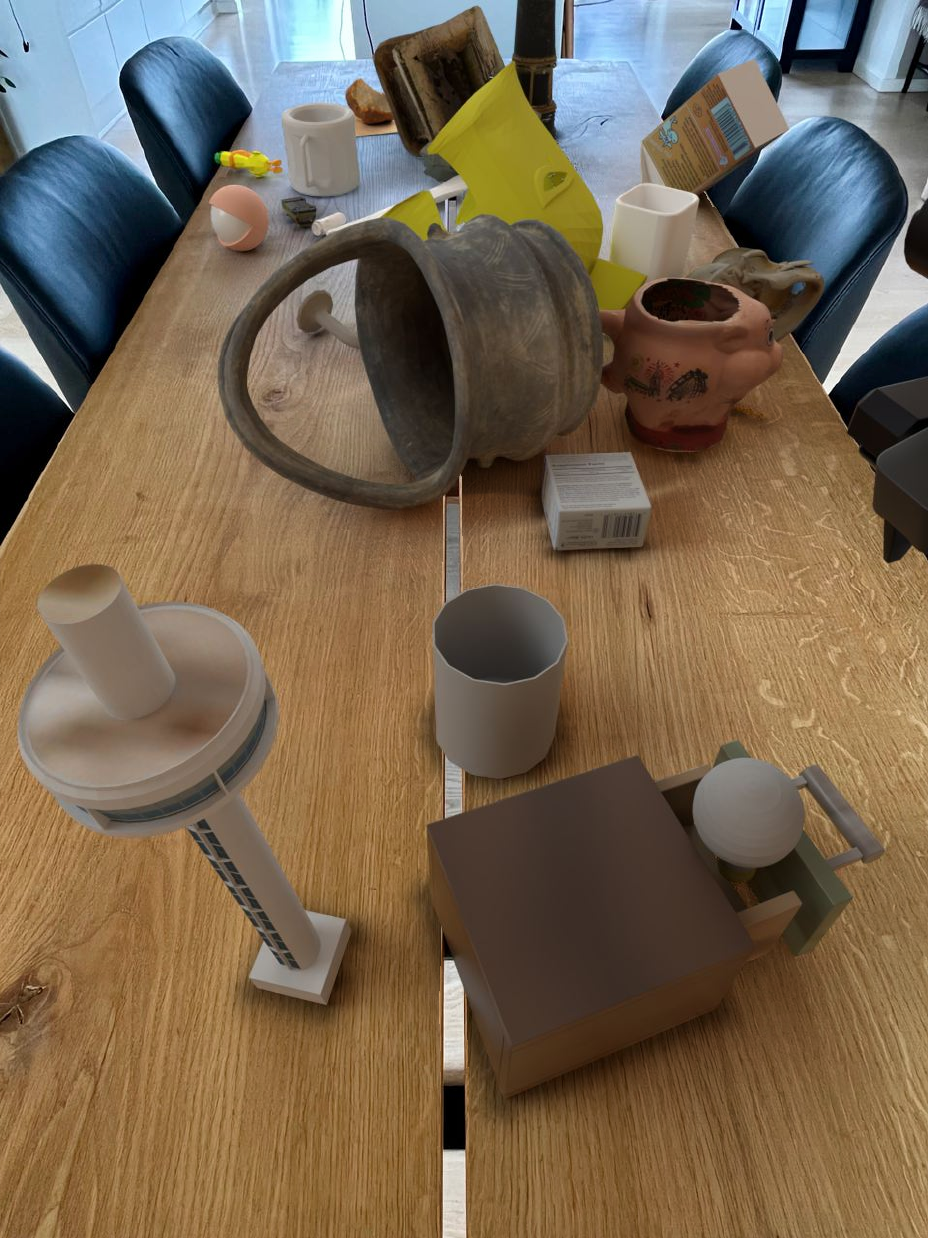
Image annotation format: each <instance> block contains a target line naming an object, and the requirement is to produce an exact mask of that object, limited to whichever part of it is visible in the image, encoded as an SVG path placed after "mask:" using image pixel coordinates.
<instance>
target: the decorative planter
mask: <svg viewBox="0 0 928 1238" xmlns="http://www.w3.org/2000/svg"><path fill="white" fill-rule="evenodd" d="M599 312H600V317H601V323H602V334H605V335H607V336H608V337H609V338H610V339H611V341H612V344H613V353H612V359H611V361H610V362H609V363H607V364H605V365H603V366H602V374H601V381H600V386H602V387H604V388H605V389H607V390H608V391H609V392H610V393H612V394H614V395H619V394H624V395H625V397H626V404H625V408H624V412H623V413H624V419H625V422H626V426H627V429H628V431H629V433H630V435H631V436H632V438H633V439H634V440H636V441H637V442H639V443H640V444H642V445H644V446H647V447H650V448H653V449H657V450H661V451H666V452H674V453H677V452H678V453H683V452H684V453H694V452H695V453H696V452H704V451H707V450H709V449H711V448H714V447H715V446H717V445H718V444H719V443H721V441H722V440H723V438H724V436H725V433H726V430H727V427H728V421H729V417H730V413H731V411H732V410H733V409H732V408H733V406H734V405H735V406H736V405H737V404H738V402H740V401H741V400H744V398H745V397H746V396H747V395H748V394H749V393H750V392H751V391H753V390H754V389H756V388H757V387H759V386H761V384H763V383H765V382H766V381H768V380H769V379H771V377H773V376H774V375H775V374H776V373H778V371H780V369H781V368H782V366H783V362H784V349H783V347H782V346H781V344H779V342H776V341H775V340H774V326H773V319H772V320H771V315H770V312H769V310H768V308H767V307H766V306H765V305H764V304H763V303H761V302H759V301H757V300H754V299H752V298H751V297H749V296H747V295H746V294H744V293H743V292H741V291H740V290H738V289H736V288H734V287H732V286H728V285H723V284H718V283H712V282H706V281H701V280H696V279H689V278H686V277H682V278H662V279H657V280H653V281H651V282H648V283H646V284H645V285H643V286H642V287H640V288H639V289H638V290H637V292H636V293H635V294H634V296H633V298H632V300H631V303H630V305H629V306H628V307H627V308H626V309H624V310H599Z"/></svg>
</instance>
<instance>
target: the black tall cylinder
mask: <svg viewBox="0 0 928 1238" xmlns="http://www.w3.org/2000/svg"><path fill="white" fill-rule="evenodd" d="M556 1H557V0H516V16H515V28H514V29H515V30H514V41H513V43H514V45H513V52H512V56H511V62H512V61H514V62H515V69H516V73H517V77H518V79H519V82H520V85H521V87H522V90H523V92H524V95H525V97H526V99H527V100H528V102H529V104H530V106H531V107H532V109H533V110H535V111H537V112H538V113H540V114H541V119H540V120H541V122H542V123H543V125H544V126H545V127H546V129H547V130H548V131H549V133H550V134H551V135H552V137H553V138H554V139H555V138H556V137H557V128H556V127H555V121H556V110H557V109H558V105H557V103H556V101H555V100H554V99H553V93H554V91H553V90H554V89H553V84H554V69H555V68H556V67H557V66H558V63H557V61H558V58H557V49H556V12H557V11H556V10H557V9H556V7H557V5H556V4H557V2H556Z"/></svg>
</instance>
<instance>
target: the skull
mask: <svg viewBox="0 0 928 1238" xmlns="http://www.w3.org/2000/svg"><path fill="white" fill-rule="evenodd" d="M810 265H814V262H813V261H811V260H807V259H806V260H804V259H803V260H796V261H782V262H779V263H777V262H774V261H771V260H770V259H769V257H768V255H767V254H766V252H765V251H763V250H761V249H754V248H749V247H733V248H729V249H726V250H724V251H721V252H720V253H719V254H717V255H716V256H715V257H714V259H713V260H712V261H711V263H708V264H705V265H702V266H700V267H698V268H696V269H694V270H693V271H692V272H690V273H689V274H688V275H687V276H686V277H685V278H689V279H696V280H701V281H706V282H712V283H718V284H723V285H728V286H732V287H734V288H736V289H738V290H740V291H741V292H743V293H744V294H746V295H747V296H749V297H751V298H752V299H754V300H757V301H759V302H761V303H763V304H764V305H765V306H766V307H767V308H768V310H769V312H770V315H771V320H772V323H773V326H774V340H775V341H776V342H777V343H779V342H780V341H782V340H783V339H784V338H785V337H788V336H789V335H790V334H791V333H792V332H794V331H795V330H796V329H797V328H798V327H799V325H800V324H801V323H802V322H803V321H804V319H805V318H806V317H807V316H808V315H809V314H810V313H811V311H812V310H814V308H815V307H816V305H818V303H819V300H820V299H821V297H822V295H823V293H824V291H825V279H824V276H823V275H822V274H821V273H820V272H818V271H816V269H814V268H813V267H811V266H810ZM798 283H801V285H802V289H800V290H798V291H795V292H793V289H794V287H795V285H796V284H798Z"/></svg>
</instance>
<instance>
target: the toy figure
mask: <svg viewBox="0 0 928 1238" xmlns="http://www.w3.org/2000/svg"><path fill="white" fill-rule="evenodd" d="M214 161H215V163H216V164H218V165H220V166H221V167H226V168H231V169H234V170H242V169H247V170H248V171H249V172H250V173H251V174H253V177H254V178H257V179H258V178H263V177H264V176H265V175H267V174H268V173H269V172H272V173H274V174H281V173H283V167H281V165H282V164H283V163H282V160H281V159H277V158H275V159H273V160H272V161H270V159H269V158H268V157H267V156H266V155H264V154H263V151H258V150H253V151H251V152H250V151H248V150H244V149H235V150H232V151H225V150H222V151H220V152H216V153H214Z"/></svg>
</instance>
